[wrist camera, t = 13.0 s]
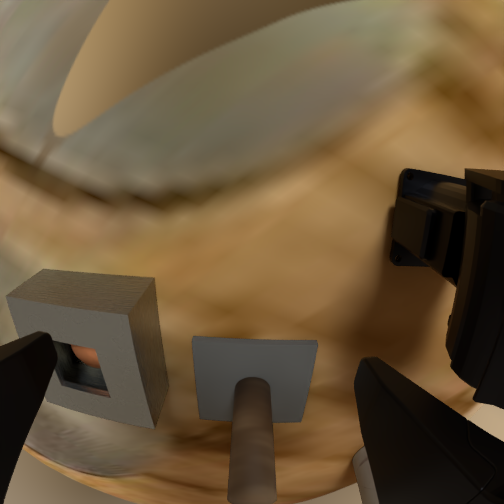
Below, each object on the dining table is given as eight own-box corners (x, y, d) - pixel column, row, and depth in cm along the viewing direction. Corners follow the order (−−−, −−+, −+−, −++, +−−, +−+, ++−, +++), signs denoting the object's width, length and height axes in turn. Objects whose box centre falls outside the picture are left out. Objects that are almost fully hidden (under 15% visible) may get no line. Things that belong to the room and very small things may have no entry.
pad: (316, 340, 21) (318, 344, 21) (300, 417, 24) (301, 422, 24) (193, 335, 21) (191, 340, 21) (200, 414, 24) (199, 419, 23)
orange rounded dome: (114, 319, 20) (104, 334, 18) (122, 355, 21) (114, 371, 19) (77, 314, 20) (65, 327, 18) (87, 349, 21) (77, 363, 19)
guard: (154, 277, 20) (127, 314, 15) (168, 385, 23) (154, 429, 18) (43, 268, 20) (5, 296, 15) (70, 367, 23) (47, 401, 18)
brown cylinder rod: (271, 377, 22) (279, 490, 12) (269, 401, 23) (274, 507, 13) (234, 376, 22) (226, 489, 12) (234, 400, 22) (228, 506, 13)
